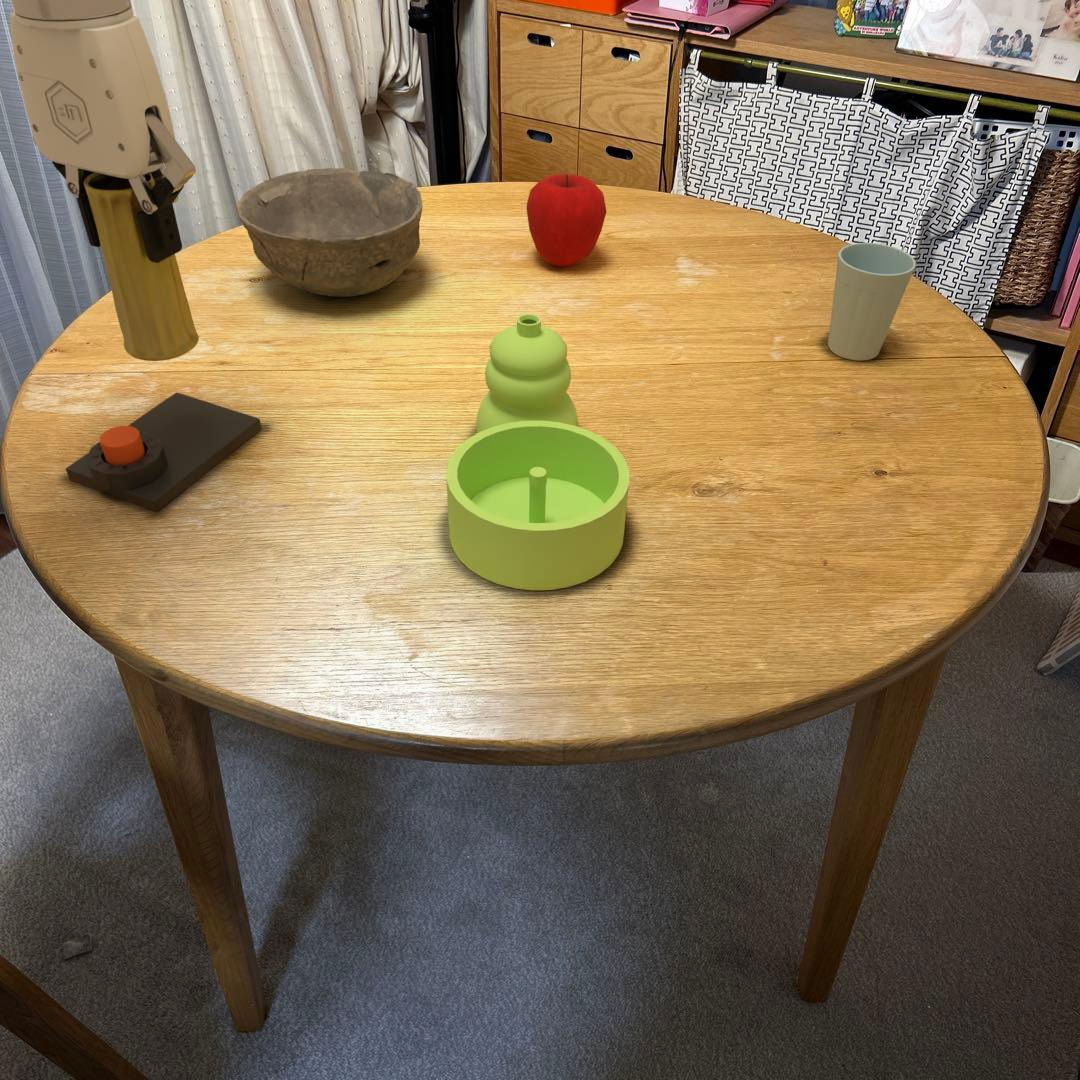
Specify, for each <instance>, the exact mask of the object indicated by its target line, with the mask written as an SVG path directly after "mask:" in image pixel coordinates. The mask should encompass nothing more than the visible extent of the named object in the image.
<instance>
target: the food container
mask: <svg viewBox="0 0 1080 1080" xmlns="http://www.w3.org/2000/svg"><path fill="white" fill-rule="evenodd" d="M567 357H568V346H567V344H566V342H565V340H564V339H563V337H562V336H561V335H560V334H559V333H558V332H557V331H555V330H553V329H551V328H549V327H547V326H545V325H542V318H541V316H539V315H538V314H534V313H522V314H520V315H519V316H517V317H516V324H515V325H511V326H508V327H506V328H505V329H503V330H501V331H500V332H498V333H497V334H496V335H495V337H494V338H493V339H492V341H491V342H490V345H489V359H488V361H487V363H486V366H485V372H484V378H485V383H486V386H487V388H488V391H487V393H486V394H485V396H484V397H483V398H482V400H481V403H480V405H479V407H478V411H477V415H476V433H475V434H474V435H472V436H471V437H468V438H466V439H465V440H464V441H463V442H462V443H461V444H460V445H458V446H457V448H456V449H455V450H454V452H453V453H452V455H451V456H450V457H449V460H448V463H447V465H446V477H445V479H446V494H447V495H446V496H447V517H448V536H449V541H450V545H451V548H452V551H453V552H454V553H455V555H456V557H457V558H458V560H459V561H460V562H461V563H462V564H463V565H464V566H465V567H466V568H468V569H469V570H470V571H471V572H472V573H474V574H476V575H477V576H479V577H480V578H483V579H485V580H487V581H490V582H491V583H494V584H497V585H499V586H503V587H508V588H512V589H516V590H525V591H526V590H527V591H553V590H559V589H564V588H571V587H574V586H576V585H580V584H583V583H585V582H587V581H589V580H591V579H593V578H595V577H597V576H599V575H601V574H602V573H603V572H604V571H605V570H607V569H608V568H609V567H611V565H612V564H613V563H614V562H615V560H616V559H617V558H618V556H619V554H620V553H621V551H622V548H623V544H624V537H625V536H624V535H625V526H626V517H627V508H628V507H627V506H628V497H629V487H630V477H631V474H630V469H629V465H628V463H627V461H626V459H625V457H624V455H623V454H622V452H620V451H619V449H618V448H617V447H616V446H614V444H612V443H611V442H610V441H608V440H607V439H605V438H604V437H602V436H601V435H599V434H597V433H595V432H593V431H591V430H589V429H585V428H583V427H580V426H579V418H578V412H577V409H576V406H575V404H574V401H573V400H572V397H571V396H570V395H569V393H568V392H567V391H568V389H569V388H570V386H571V385H570V383H571V380H572V371H571V370H572V369H571V366H570V364H569V361H568V359H567Z"/></svg>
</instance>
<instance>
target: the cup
mask: <svg viewBox="0 0 1080 1080" xmlns="http://www.w3.org/2000/svg"><path fill="white" fill-rule="evenodd" d="M836 261H837V263H836V271H835V280H834V288H833V289H834V290H833V297H832V305H831V314H830V323H829V331H828V338H827V339H828V340H827V346H828V349H829V350H830V351H831V352H832V353H833V354H835V355H836V356H839V357H840V358H843V359H846V360H850V361H860V362H861V361H869V360H873V359H874V358H876V357H877V356H879V354H880V351H881V350H882V347H883V345H884V342H885V339H886V337H887V335H888V333H889V330H890V328H891V326H892V324H893V321H894V319H895V316H896V314H897V311H898V309H899V307H900V304H901V301H902V299H903V296H904V294H905V292H906V290H907V287H908V285H909V283H910V280H911V279H912V275H914V271H915V269H916V267H917V266H916V265H917V263H916V260H915V259H914V257H913V256H912V255H911V254H909V253H908V252H906V251H905V250H902V249H900V248H898V247H895V246H891V245H888V244H882V243H876V242H855V243H851V244H848V245H845V246H843V247H842V248H841V249H840V250H839V251H838V254H837V260H836Z"/></svg>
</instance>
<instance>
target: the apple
mask: <svg viewBox="0 0 1080 1080" xmlns="http://www.w3.org/2000/svg"><path fill="white" fill-rule="evenodd" d="M607 212H608V211H607V205H606V200H605V196H604V192H603V191H602V190H601V189H600V188H599V186H597V185H596V183H595V182H594V181H593V180H591V179H590V178H588V177H586V176H583V175H577V174H569V173H557V174H552V175H549V176H546V177H544V178H542V179H541V180H539V181H538V182H537V183H535V185H534V186H533V187H532V188H531V189H530V190H529V194H528V198H527V201H526V216H527V224H528V231H529V233H530V236H531V238H532V241H533V244H534V247H535V250H536V252H537V254H539V256H540V257H541V258H542V259H544V260H545V261H546V263H548V264H549V265H551V266H553V267H555V268H568V267H572V266H575V265H577V264H579V263H580V262H582V261H583V260H585V259H586V258H588V257H589V256H590V255H591V254H592V253H593V251H594V249H595V247H596V245H597V242H598V240H599V238H600V236H601V234H602V230H603V227H604V223H605V219H606V215H607Z"/></svg>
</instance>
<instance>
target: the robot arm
mask: <svg viewBox="0 0 1080 1080" xmlns="http://www.w3.org/2000/svg"><path fill="white" fill-rule="evenodd" d="M10 2H11V5H12V8H13V11H14V12H11V14H10V15H9V26H10V36H11V44H12V52H13V57H14V62H15V63H14V64H15V68H16V69H15V70H16V74H17V78H18V82H19V87H20V91H21V95H22V99H23V103H24V107H25V110H26V115H27V118H28V121H29V125H30V126H29V127H30V129H31V131H32V140H33V142H34V144H35V145H36V146H37V149H38V151H39V152H40V153H41V155H42V156H44V157H45V158H46V159H48V160H50V161H51V163H52V165H53V166H54V168H55V169H56V170H57V171H58V172H59V174H60V175H61V176H62V177H63V179H65V181H66V182H65V183H66V188H67V191H68V193H70V194H71V195H72V196H73V197H76V202H77V206H78V209H79V211H80V216H81V219H82V222H83V226H84V229H85V232H86V235H87V239H88V243H89V245H90V246H92V247H95V248H101V245H100V240H99V235H98V231H97V227H96V224H95V220H94V217H93V213H92V210H91V206H90V202H89V199H88V195H87V192H86V189H85V186H84V180H85V179H86V178H87V177H88V176H89V175H91V174H93V173H95V172H96V173H101V174H105V175H109V176H114V177H119V178H125V179H128V180H129V182H130V185H131V187H132V189H133V191H134V193H135V195H136V197H137V199H138V201H139V203H140V205H141V208H142V209H143V211H141V212H139V213H137V215H138V221H139V225H140V229H141V232H142V236H143V240H144V244H145V248H146V252H147V256H148V258H149V260H150V261H151V262H155V263H159V262H161V261H163V260H164V259H166V258H168V257H170V256H172V255H174V254H175V255H176V254H178V253H179V252H181V250H182V249H183V242H182V239H181V238H182V237H181V234H180V229H179V226H178V225H179V224H178V220H177V216H176V212H175V208H174V204H175V203H177V202H178V201H179V195H180V193H181V192H182V190H183V189H184V188H185V185H186V184H187V183H188V182H189V181H190V179H191V178H192V177H193V176H194V175H195V174H196V172H197V171H196V170H197V168H196V166H195V164H194V162H193V161H192V160H191V159H190V157H189V156H188V155H187V153H186V152H185V151H184V150H183V148H182V146H181V145H180V144H179V142H177V140H176V138H175V132H174V126H173V121H172V118H171V112H170V108H169V105H168V101H167V98H166V94H165V90H164V86H163V82H162V80H161V77H160V73H159V71H158V70H159V69H158V67H157V64H156V62H155V59H154V58H155V57H154V56H153V52H152V50H151V48H150V45H149V42H148V39H147V37H146V34H145V31H144V28H143V26H142V24H141V21H140V19H139V17H138V16H135V15H134V10H133V6H132V1H131V0H10ZM150 173H151V175H152V177H153V179H154V181H155V185H154V186H153V188H152V189H151V190H150V188H149V186H148V183H147V181H146V179H145V177H144V176H145V175H148V174H150Z"/></svg>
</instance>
